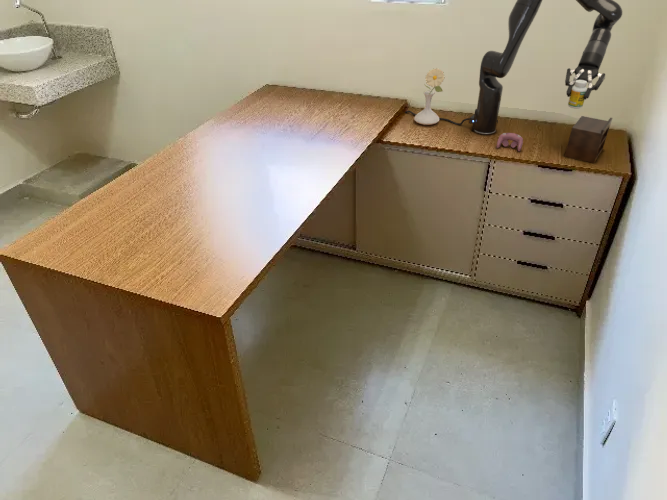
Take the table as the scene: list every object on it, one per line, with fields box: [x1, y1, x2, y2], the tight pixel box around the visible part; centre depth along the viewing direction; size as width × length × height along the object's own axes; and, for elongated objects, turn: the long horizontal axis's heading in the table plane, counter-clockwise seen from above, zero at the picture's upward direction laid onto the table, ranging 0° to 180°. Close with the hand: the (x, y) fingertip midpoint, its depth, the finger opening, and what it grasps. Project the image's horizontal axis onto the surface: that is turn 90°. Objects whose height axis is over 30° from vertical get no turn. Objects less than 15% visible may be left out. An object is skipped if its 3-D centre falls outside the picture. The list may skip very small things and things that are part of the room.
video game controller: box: [496, 132, 524, 153], centre depth 206 cm, size 10×5×7 cm, turn 65°
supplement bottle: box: [567, 80, 588, 109], centre depth 192 cm, size 5×5×10 cm
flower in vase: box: [413, 67, 446, 126], centre depth 223 cm, size 13×11×25 cm
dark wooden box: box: [564, 115, 613, 164], centre depth 198 cm, size 11×14×14 cm
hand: (576, 97), depth 191 cm, fingers closed on supplement bottle, 5 cm apart
